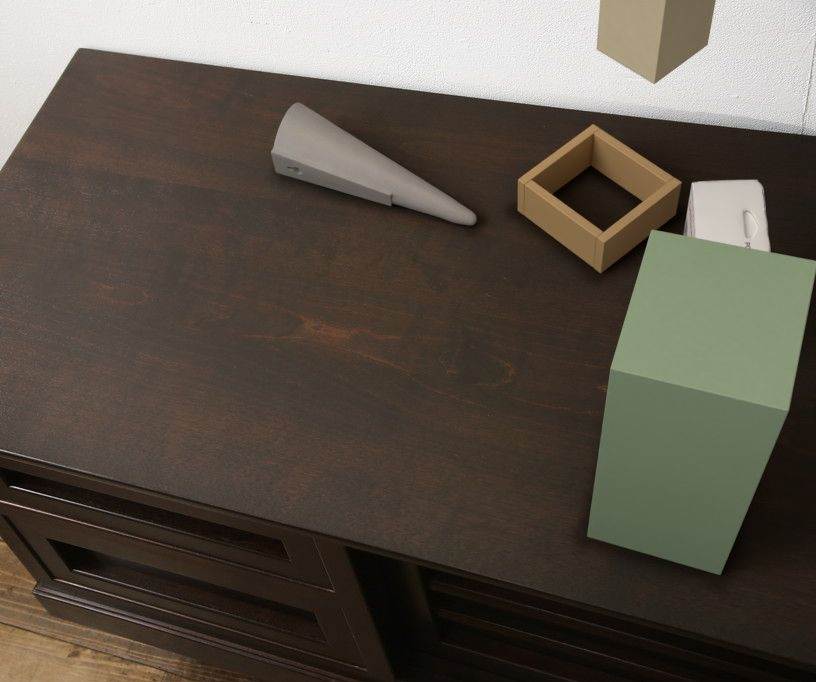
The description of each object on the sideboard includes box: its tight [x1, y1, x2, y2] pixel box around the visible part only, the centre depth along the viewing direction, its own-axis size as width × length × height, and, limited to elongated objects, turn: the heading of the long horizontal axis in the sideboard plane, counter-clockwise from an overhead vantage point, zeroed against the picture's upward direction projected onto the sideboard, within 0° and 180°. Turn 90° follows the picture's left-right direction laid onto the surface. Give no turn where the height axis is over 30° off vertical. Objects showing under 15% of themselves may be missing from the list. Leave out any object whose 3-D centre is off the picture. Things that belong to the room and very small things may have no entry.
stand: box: [586, 229, 816, 576], centre depth 68 cm, size 9×10×22 cm
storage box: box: [517, 124, 683, 274], centre depth 90 cm, size 10×9×4 cm
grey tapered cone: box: [270, 102, 478, 227], centre depth 96 cm, size 6×6×19 cm
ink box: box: [683, 179, 772, 252], centre depth 79 cm, size 9×5×12 cm, turn 172°
